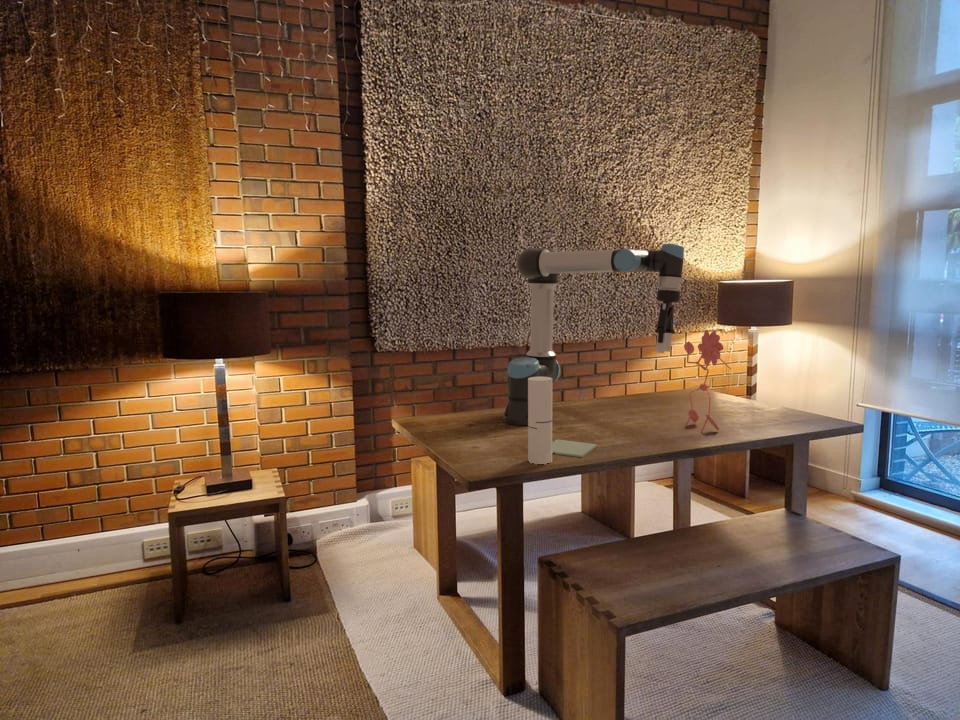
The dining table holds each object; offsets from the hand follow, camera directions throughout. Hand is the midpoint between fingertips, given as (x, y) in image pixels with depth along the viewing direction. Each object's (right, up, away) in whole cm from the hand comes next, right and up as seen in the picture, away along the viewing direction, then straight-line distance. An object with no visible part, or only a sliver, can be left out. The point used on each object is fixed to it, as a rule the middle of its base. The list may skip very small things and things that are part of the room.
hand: (662, 352), depth 219 cm
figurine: (+19, -27, +9) cm, 34 cm away
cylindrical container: (-45, -33, -28) cm, 63 cm away
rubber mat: (-35, -31, -16) cm, 49 cm away
